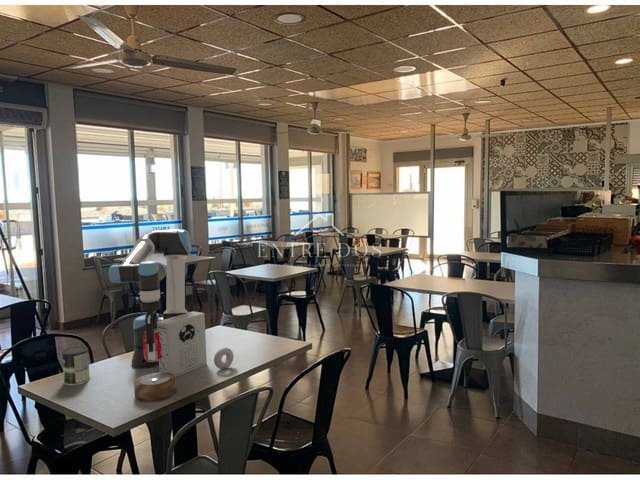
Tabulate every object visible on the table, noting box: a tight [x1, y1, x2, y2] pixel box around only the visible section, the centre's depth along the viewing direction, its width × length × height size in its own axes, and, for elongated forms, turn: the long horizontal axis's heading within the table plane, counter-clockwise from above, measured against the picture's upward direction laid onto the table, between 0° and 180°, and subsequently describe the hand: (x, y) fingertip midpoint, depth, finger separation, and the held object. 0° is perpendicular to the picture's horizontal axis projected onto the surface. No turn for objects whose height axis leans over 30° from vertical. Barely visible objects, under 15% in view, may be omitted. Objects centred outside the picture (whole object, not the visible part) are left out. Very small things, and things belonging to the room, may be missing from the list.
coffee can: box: [61, 345, 91, 386], centre depth 212 cm, size 10×10×14 cm
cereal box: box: [157, 311, 208, 378], centre depth 222 cm, size 22×8×25 cm, turn 147°
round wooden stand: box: [133, 372, 177, 403], centre depth 196 cm, size 16×16×6 cm
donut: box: [213, 346, 235, 370], centre depth 223 cm, size 10×4×10 cm, turn 134°
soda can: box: [143, 329, 162, 362], centre depth 195 cm, size 7×7×12 cm
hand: (153, 356), depth 195 cm, fingers closed on soda can, 7 cm apart
